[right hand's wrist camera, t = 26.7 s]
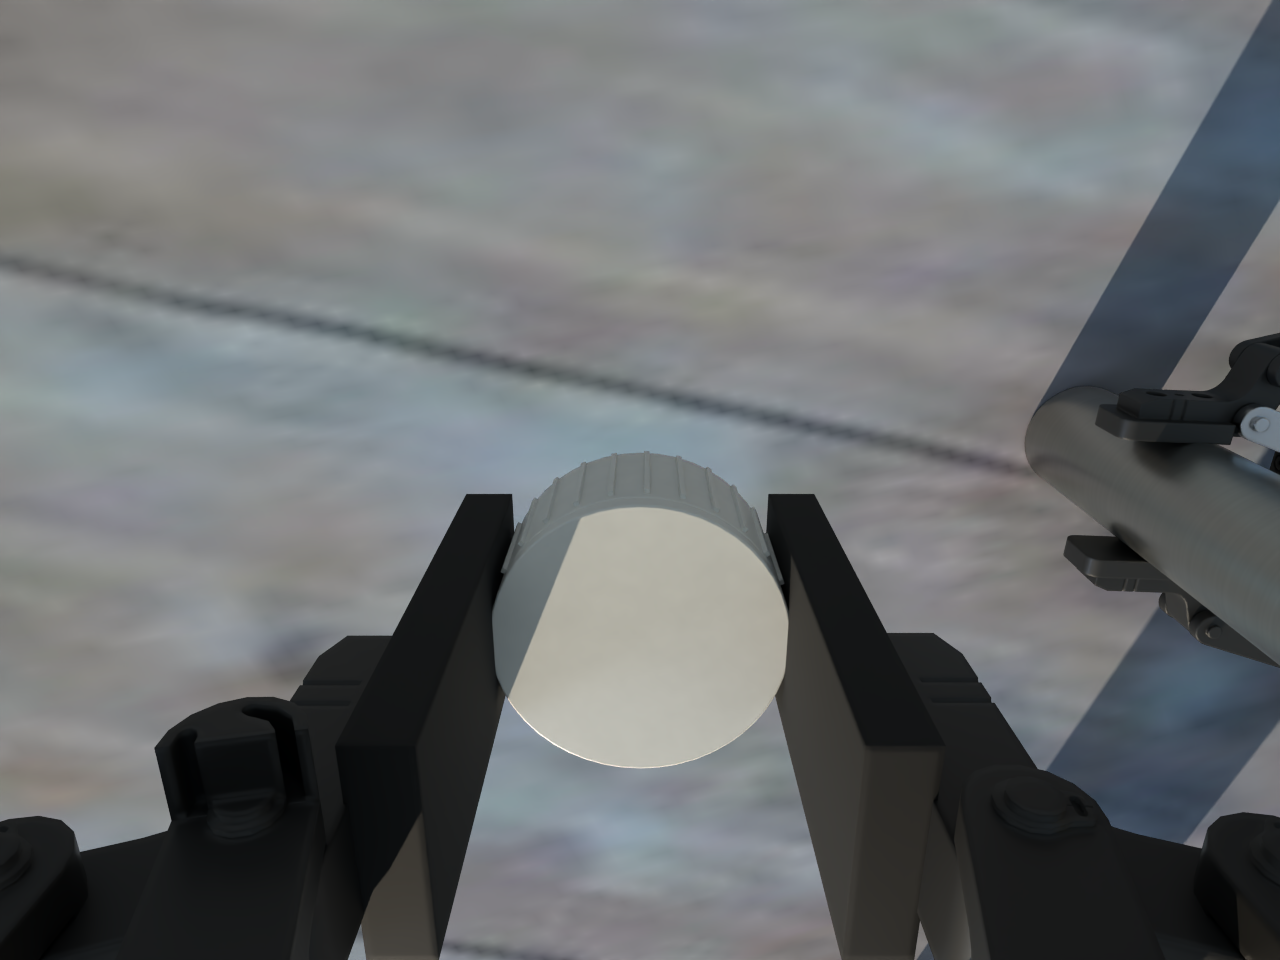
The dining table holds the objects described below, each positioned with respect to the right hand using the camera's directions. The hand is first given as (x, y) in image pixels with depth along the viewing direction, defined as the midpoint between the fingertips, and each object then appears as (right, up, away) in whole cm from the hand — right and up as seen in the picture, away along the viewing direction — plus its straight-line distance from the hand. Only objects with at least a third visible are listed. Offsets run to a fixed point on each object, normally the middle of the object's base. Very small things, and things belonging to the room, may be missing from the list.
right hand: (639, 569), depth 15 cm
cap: (0, -1, -2) cm, 2 cm away
